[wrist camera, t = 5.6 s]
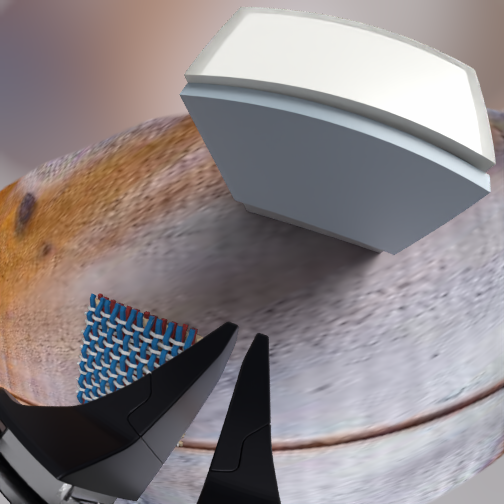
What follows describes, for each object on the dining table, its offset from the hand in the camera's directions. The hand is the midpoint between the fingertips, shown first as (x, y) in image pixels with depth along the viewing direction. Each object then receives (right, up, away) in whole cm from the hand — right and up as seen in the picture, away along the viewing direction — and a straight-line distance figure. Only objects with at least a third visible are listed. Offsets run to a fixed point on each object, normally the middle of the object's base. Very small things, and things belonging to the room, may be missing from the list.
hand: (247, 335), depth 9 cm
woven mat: (-9, -7, +10) cm, 15 cm away
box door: (+4, +5, +6) cm, 9 cm away
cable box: (+5, +7, +10) cm, 13 cm away
